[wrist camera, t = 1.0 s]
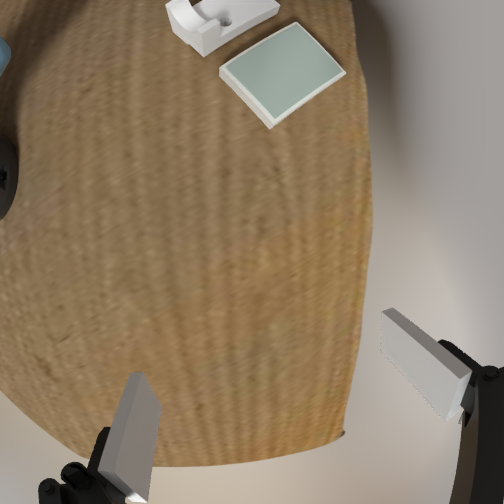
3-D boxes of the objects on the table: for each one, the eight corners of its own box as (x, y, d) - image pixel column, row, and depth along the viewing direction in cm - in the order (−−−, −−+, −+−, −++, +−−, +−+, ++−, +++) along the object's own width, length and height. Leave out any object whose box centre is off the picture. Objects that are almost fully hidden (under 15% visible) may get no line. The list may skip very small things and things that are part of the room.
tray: (219, 76, 31) (219, 66, 28) (291, 31, 30) (296, 20, 27) (269, 129, 33) (274, 124, 30) (337, 80, 33) (347, 72, 29)
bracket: (204, 60, 30) (201, 33, 23) (173, 32, 29) (165, 4, 21) (275, 17, 29) (286, -11, 22) (244, -9, 28) (249, -38, 20)
